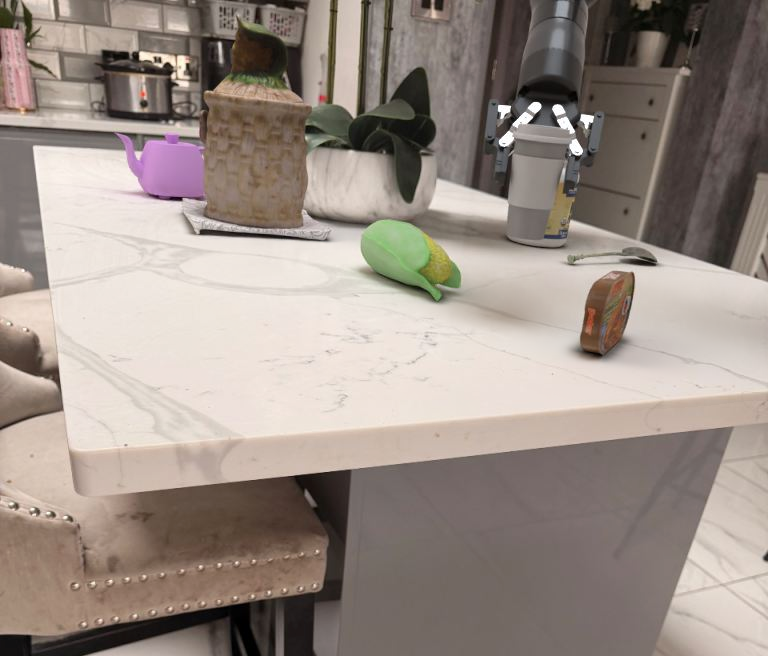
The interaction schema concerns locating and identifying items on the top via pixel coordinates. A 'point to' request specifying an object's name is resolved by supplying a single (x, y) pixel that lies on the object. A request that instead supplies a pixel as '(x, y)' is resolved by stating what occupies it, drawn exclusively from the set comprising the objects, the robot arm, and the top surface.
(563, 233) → the supplement tub
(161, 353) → the top surface
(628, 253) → the soupspoon
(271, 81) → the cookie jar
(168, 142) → the teapot
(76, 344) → the top surface
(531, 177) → the cup
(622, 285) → the tin
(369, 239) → the corn
